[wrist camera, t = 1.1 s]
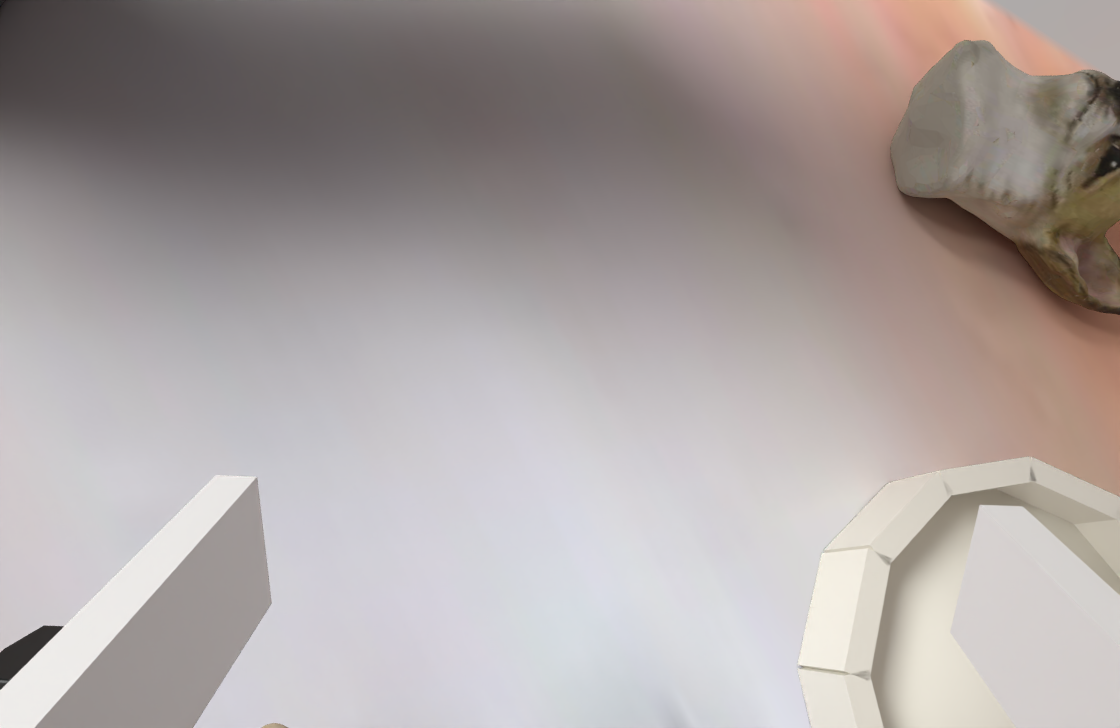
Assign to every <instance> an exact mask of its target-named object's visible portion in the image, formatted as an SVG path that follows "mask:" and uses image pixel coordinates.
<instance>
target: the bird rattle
mask: <svg viewBox="0 0 1120 728" xmlns="http://www.w3.org/2000/svg"><path fill="white" fill-rule="evenodd" d="M262 728H288V727H286V726H284V725H281V724H277V723H272V724H267V725H265V726H263V727H262Z"/></svg>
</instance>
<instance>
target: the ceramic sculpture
mask: <svg viewBox="0 0 1120 728" xmlns="http://www.w3.org/2000/svg"><path fill="white" fill-rule="evenodd" d="M890 150H891V159H892V163H893V166H894V169H895V177H896V182H897V185H898V188H899V190H900V191H901V192H903V193H904V194H906V195H909V196H912V197H923V198H949V199H950V200H952V201H953V202H955V203H956V204H958V205H959V206H961V207H962V208H963V209H965V210H967V211H969V212H970V213H972V214H974V215H976V216H977V217H978V218H980V219H981V220H982V221H984V222H985V223H986V224H988V225H989V226H991V227H992V228H993V229H995V230H996V231H998V232H999V233H1001V234H1003V235H1004V236H1006V237H1007V238H1009V239H1010V240H1012V241H1013V242H1014V243H1015V244H1016V246H1017V248H1018V251H1019V252H1020V253H1021V254H1022V256H1023V257H1024V258H1025V259H1026V261H1027V262H1028V263H1029V264H1030V266H1031V267H1032V268H1033V270H1034V271H1035V272H1036V274H1037V275H1038V276H1039V278H1040V279H1041V280H1042V282H1043V283H1044V284H1045V285H1046V286H1047V287H1048V288H1049V289H1050V290H1051V291H1052V292H1054V293H1055V294H1057V295H1058V296H1060V297H1061V298H1063V299H1065V300H1067V301H1070V302H1073V303H1076V304H1079V305H1081V306H1083V307H1085V308H1087V309H1091V310H1095V311H1099V312H1103V313H1112V314H1118V315H1120V259H1119V257H1118V255H1117V254H1116V253H1115V252H1114V250H1113V249H1112V247H1111V246H1110V245H1109V243H1108V241H1107V239H1106V237H1105V234H1106V231H1107V230H1108V229H1109V228H1110V227H1111V226H1113V225H1114V224H1115V223H1116V222H1118V221H1119V220H1120V81H1116V80H1114V79H1112V78H1110V77H1109V76H1107V75H1106V74H1104V73H1102V72H1099V71H1095V70H1082V71H1078V72H1076V73H1073V74H1069V75H1059V76H1031V75H1028V74H1026V73H1024V72H1022V71H1020V70H1019V69H1017V68H1015V67H1014V66H1013V65H1011V64H1010V63H1009V62H1008V61H1006V60H1005V59H1004V58H1003V57H1002V55H1001V54H1000V53H999V52H998V51H996V49H995V48H994V47H993V45H992V44H991V43H990V42H988V41H985V40H982V41H969V40H964V41H962V42H960V43H958V44H956V45H955V46H954V48H953V49H952V50H950V51H949V52H948V53H947V54H946V55H945V56H944V57H943V58H942V59H941V60H940V61H939V62H938V63H937V64H935V65H934V66H933V67H932V68H931V69H930V70H929V71H928V73H927V74H926V75H925V76H924V77H923V78H922V79H921V80H920V81H919V83H918V84H917V85H916V86H915V87H914V89H913V91H912V95H911V98H910V102H909V106H908V109H907V111H906V113H905V115H904V117H903V119H902V121H901V122H900V124H899V127H898V129H897V131H896V133H895V135H894V137H893V140H892V143H891V148H890Z"/></svg>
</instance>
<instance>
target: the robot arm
mask: <svg viewBox="0 0 1120 728" xmlns="http://www.w3.org/2000/svg"><path fill="white" fill-rule="evenodd" d="M4 1H5V0H0V7H1V5H2V4H3V2H4ZM271 604H272V602H271V593H270V585H269V576H268V567H267V559H266V550H265V542H264V533H263V524H262V516H261V507H260V498H259V490H258V481H257V477H250V476H224V475H215V476H214V477H213V478H212V479H211V480H210V481H209V482H208V483H207V484H206V485H205V486H204V487H203V488H202V489H201V490H200V491H199V492H198V493H197V494H196V495H195V496H194V497H193V498H192V499H191V500H190V501H189V502H188V503H187V504H186V505H185V506H184V507H183V508H182V509H181V510H180V511H179V512H178V513H177V514H176V515H175V516H174V517H173V518H172V519H171V520H170V521H169V522H168V523H167V524H166V525H165V526H164V527H163V528H162V529H161V530H160V531H159V532H158V533H157V534H156V535H155V536H154V537H153V538H152V539H151V540H150V541H149V542H148V543H147V544H146V545H145V546H144V547H143V548H142V549H141V550H140V551H139V552H138V553H137V554H136V555H135V556H134V557H133V558H132V559H131V560H130V561H129V562H128V563H127V564H126V565H125V566H124V567H123V568H122V569H121V570H120V571H119V572H118V573H117V574H116V575H115V576H114V577H113V578H112V579H111V580H110V581H109V582H108V583H107V584H106V585H105V586H104V587H103V588H102V589H101V590H100V591H99V592H98V593H97V594H96V595H95V596H94V597H93V598H92V599H91V600H90V601H89V602H88V603H87V604H86V605H85V606H84V607H83V608H82V609H81V610H80V611H79V612H78V613H77V614H76V615H75V616H74V617H73V618H72V619H71V620H70V621H69V622H68V623H67V624H66V625H65V626H42V627H41V628H39V629H37V630H36V631H34V632H32V633H31V634H29V635H27V636H25V637H24V638H22V639H20V640H19V641H17V642H15V643H14V644H12V645H10V646H8V647H7V648H5V649H4V650H3V651H2V652H0V728H193V727H194V725H195V724H196V722H197V721H198V719H199V717H200V716H201V714H202V713H203V711H204V710H205V708H206V706H207V705H208V703H209V702H210V700H211V698H212V697H213V695H214V694H215V692H216V691H217V689H218V687H219V686H220V684H221V683H222V681H223V679H224V678H225V676H226V675H227V673H228V672H229V670H230V668H231V667H232V665H233V664H234V662H235V661H236V659H237V657H238V656H239V654H240V653H241V651H242V649H243V648H244V646H245V645H246V643H247V642H248V640H249V638H250V637H251V635H252V634H253V632H254V630H255V629H256V627H257V626H258V624H259V623H260V621H261V619H262V618H263V616H264V615H265V613H266V611H267V610H268V608H269V607H270V605H271ZM950 633H951V634H952V636H953V637H954V639H955V640H956V641H957V643H958V644H959V646H960V647H961V649H962V650H963V652H964V653H965V654H966V656H967V657H968V659H969V660H970V662H971V663H972V665H973V666H974V667H975V669H976V670H977V672H978V673H979V675H980V676H981V678H982V679H983V681H984V682H985V683H986V685H987V686H988V688H989V689H990V691H991V692H992V694H993V695H994V696H995V698H996V699H997V701H998V702H999V704H1000V705H1001V707H1002V708H1003V709H1004V711H1005V712H1006V714H1007V715H1008V717H1009V718H1010V720H1011V721H1012V723H1013V724H1014V725H1015V727H1016V728H1120V595H1119V594H1118V593H1116V592H1115V591H1114V590H1113V589H1112V588H1111V587H1110V586H1109V585H1108V584H1107V583H1106V582H1105V581H1103V580H1102V579H1101V578H1100V577H1099V576H1098V575H1097V574H1096V573H1095V572H1094V571H1093V570H1091V569H1090V568H1089V567H1088V566H1087V565H1086V564H1085V563H1084V562H1083V561H1082V560H1081V559H1079V558H1078V557H1077V556H1076V555H1075V554H1074V553H1073V552H1072V551H1071V550H1070V549H1069V548H1067V547H1066V546H1065V545H1064V544H1063V543H1062V542H1061V541H1060V540H1059V539H1058V538H1057V537H1056V536H1054V535H1053V534H1052V533H1051V532H1050V531H1049V530H1048V529H1047V528H1046V527H1045V526H1044V525H1042V524H1041V523H1040V522H1039V521H1038V520H1037V519H1036V518H1035V517H1034V516H1033V515H1032V514H1030V513H1029V512H1028V511H1027V510H1026V509H1025V508H1024V507H1023V506H997V505H980V506H979V510H978V514H977V519H976V523H975V527H974V531H973V536H972V540H971V544H970V549H969V553H968V557H967V562H966V566H965V570H964V575H963V579H962V583H961V588H960V592H959V596H958V600H957V605H956V609H955V613H954V618H953V622H952V626H951V631H950Z"/></svg>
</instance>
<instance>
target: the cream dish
mask: <svg viewBox="0 0 1120 728" xmlns="http://www.w3.org/2000/svg"><path fill="white" fill-rule="evenodd" d="M980 505H997V506H1023V507H1024V508H1025V509H1026V510H1027V511H1028V512H1029V513H1030V514H1032V515H1033V516H1034V517H1035V518H1036V519H1037V520H1038V521H1039V522H1040V523H1041V524H1042V525H1044V526H1045V527H1046V528H1047V529H1048V530H1049V531H1050V532H1051V533H1052V534H1053V535H1054V536H1056V537H1057V538H1058V539H1059V540H1060V541H1061V542H1062V543H1063V544H1064V545H1065V546H1066V547H1067V548H1069V549H1070V550H1071V551H1072V552H1073V553H1074V554H1075V555H1076V556H1077V557H1078V558H1079V559H1081V560H1082V561H1083V562H1084V563H1085V564H1086V565H1087V566H1088V567H1089V568H1090V569H1091V570H1093V571H1094V572H1095V573H1096V574H1097V575H1098V576H1099V577H1100V578H1101V579H1102V580H1103V581H1105V582H1106V583H1107V584H1108V585H1109V586H1110V587H1111V588H1112V589H1113V590H1114V591H1115V592H1116V593H1118V594H1119V595H1120V497H1119V496H1116V495H1114V494H1112V493H1110V492H1108V491H1106V490H1103V489H1101V488H1099V487H1097V486H1095V485H1092V484H1090V483H1088V482H1086V481H1084V480H1081V479H1079V478H1077V477H1075V476H1073V475H1071V474H1068V473H1066V472H1064V471H1062V470H1060V469H1057V468H1055V467H1053V466H1051V465H1049V464H1047V463H1044V462H1042V461H1040V460H1038V459H1036V458H1033V457H1029V456H1028V457H1021V458H1015V459H1009V460H1002V461H996V462H990V463H983V464H977V465H970V466H964V467H958V468H951V469H945V470H939V471H935V472H930V473H926V474H922V475H918V476H913V477H909V478H905V479H901V480H896V481H892V482H890V483H887V484H886V485H885V486H884V487H883V488H882V489H881V490H880V492H879V493H878V494H877V495H876V496H875V497H874V498H873V499H872V500H871V501H870V502H869V503H868V504H867V505H866V506H865V507H864V508H863V509H862V510H861V511H860V512H859V513H858V515H857V516H856V517H855V518H854V519H853V520H852V521H851V522H850V523H849V524H848V525H847V526H846V527H845V528H844V529H843V530H842V531H841V532H840V533H839V534H838V535H837V536H836V538H835V539H834V540H833V541H832V542H831V543H830V544H829V545H828V546H827V547H826V548H825V549H824V550H823V551H824V552H825V553H822V554H821V559H820V563H819V568H818V573H817V577H816V582H815V586H814V591H813V596H812V600H811V605H810V609H809V614H808V618H807V623H806V628H805V632H804V637H803V641H802V646H801V651H800V655H799V660H798V664H797V665H800V666H802V667H803V668H799V669H798V673H799V678H800V682H801V686H802V690H803V695H804V699H805V703H806V708H807V712H808V716H809V720H810V725H811V728H1016V727H1015V725H1014V724H1013V723H1012V721H1011V720H1010V718H1009V717H1008V715H1007V714H1006V712H1005V711H1004V709H1003V708H1002V707H1001V705H1000V704H999V702H998V701H997V699H996V698H995V696H994V695H993V694H992V692H991V691H990V689H989V688H988V686H987V685H986V683H985V682H984V681H983V679H982V678H981V676H980V675H979V673H978V672H977V670H976V669H975V667H974V666H973V665H972V663H971V662H970V660H969V659H968V657H967V656H966V654H965V653H964V652H963V650H962V649H961V647H960V646H959V644H958V643H957V641H956V640H955V639H954V637H953V636H952V634H951V633H950V631H951V626H952V622H953V618H954V613H955V609H956V605H957V600H958V596H959V592H960V588H961V583H962V579H963V575H964V570H965V566H966V562H967V557H968V553H969V549H970V544H971V540H972V536H973V531H974V527H975V523H976V519H977V514H978V510H979V506H980Z"/></svg>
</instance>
